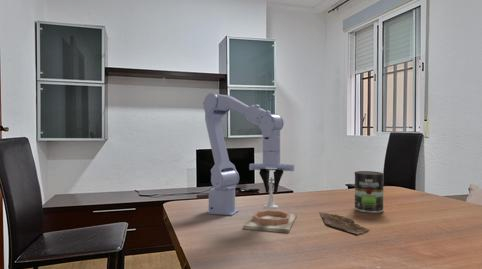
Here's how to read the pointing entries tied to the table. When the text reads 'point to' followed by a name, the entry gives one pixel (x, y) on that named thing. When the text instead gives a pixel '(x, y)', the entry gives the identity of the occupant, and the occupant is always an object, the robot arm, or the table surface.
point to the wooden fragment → (343, 223)
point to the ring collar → (271, 221)
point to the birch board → (276, 228)
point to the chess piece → (271, 197)
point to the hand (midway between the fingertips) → (271, 192)
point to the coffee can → (369, 191)
